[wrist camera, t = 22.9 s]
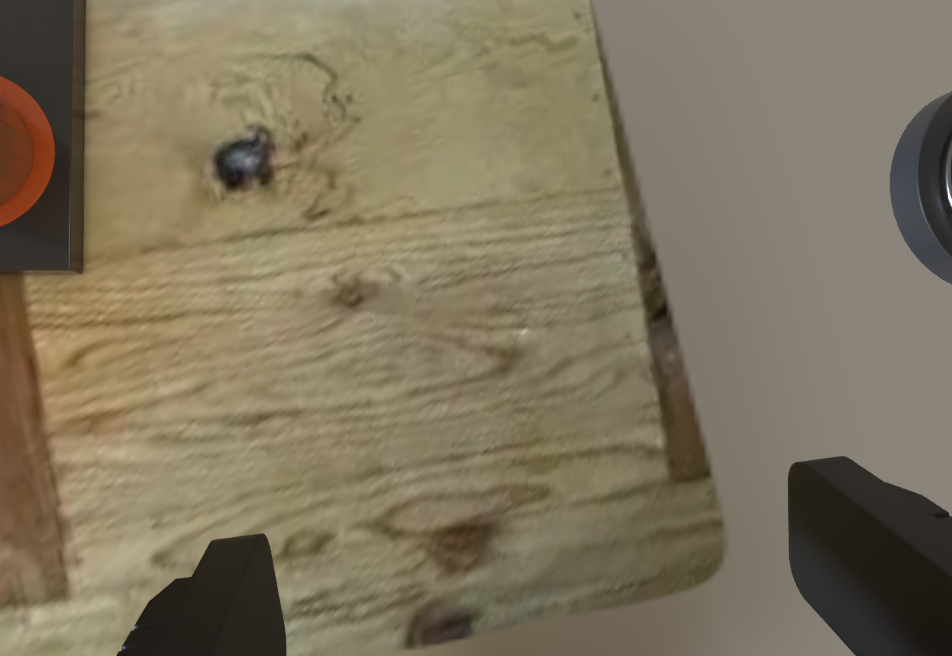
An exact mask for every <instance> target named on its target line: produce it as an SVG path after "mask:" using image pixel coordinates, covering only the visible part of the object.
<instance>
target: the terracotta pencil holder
mask: <svg viewBox="0 0 952 656" xmlns="http://www.w3.org/2000/svg"><path fill="white" fill-rule="evenodd" d="M32 163H33V143H32V138H31V135H30V132H29V129H28V127H27V125H26V123H25V122H24V120H23V119H22V117H21V116H20V115H19V114H18V112H17V111H16V110H15V109H14V108H12V107H11V106H10V105H9V104H8V103H6V102H5V101H4V100H3V99H2V98H1V97H0V206H1V205H3V204H4V203H6V202H7V201H9V200H10V199H11V198H12V197H14V196H15V195H16V194H17V193H18V192H19V190H20V189H21V188H22V186H23V185H24V183H25V182H26V180H27V178H28V176H29V173H30V171H31V167H32Z"/></svg>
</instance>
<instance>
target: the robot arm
mask: <svg viewBox="0 0 952 656" xmlns="http://www.w3.org/2000/svg"><path fill="white" fill-rule="evenodd" d="M939 180H940V190H941V195H942V199H943V203H944V206H945V209H946V211H947V214H948V216H949V218H950V220H951V222H952V130H951V132H950V134H949V136H948V138H947V140H946V143H945V145H944V148H943V152H942V155H941V161H940V170H939ZM788 521H789V560H790V566H791V571H792V574H793V577H794V580H795V583H796V585H797V587H798V589H799V591H800V593H801V594H802V596H803V597H804V599H805V600H806V601H807V602H808V603H809V604H810V605H811V606H812V608H813V609H814V610H815V611H816V612H817V613H818V614H819V615H820V617H821V618H822V619H823V620H824V621H825V622H826V623H827V624H828V625H829V626H830V627H831V628H832V630H833V631H834V632H835V633H836V634H837V635H838V636H839V638H840V639H841V640H842V641H843V642H844V643H845V644H846V645H847V646H848V648H849V649H850V650H851V651H852V652H853V653H854V654H855V655H856V656H952V517H950V516H949V513H948V512H947V511H945V510H944V509H942V508H941V507H939V506H938V505H936V504H935V503H933V502H932V501H930V500H929V499H927V498H925V497H924V496H922V495H920V494H917V493H914V492H912V491H909V490H906V489H903V488H901V487H898V486H895V485H892V484H889V483H886V482H883V481H882V480H880V479H879V478H877V477H876V476H875V475H873V474H872V473H870V472H869V471H867V470H866V469H864V468H863V467H861V466H860V465H858V464H857V463H855V462H854V461H852V460H851V459H849V458H847V457H844V456H839V457H832V458H825V459H818V460H810V461H803V462H796V463H794V464H793V465H792V466H791V468H790V471H789V475H788ZM134 627H135V629H134V630H133V631H131V632H130V634H129V636H128V637H127V639H126V641H125V642H124V644H123V646H122V651H119V652H118V654H117V656H286V634H285V626H284V620H283V615H282V609H281V604H280V598H279V593H278V587H277V582H276V577H275V571H274V566H273V560H272V555H271V550H270V545H269V542H268V539H267V537H266V535H265V534H263V533H261V534H254V535H247V536H239V537H232V538H224V539H217V540H212V541H211V542H210V544H209V545H208V547H207V549H206V551H205V553H204V555H203V557H202V559H201V560H200V562H199V564H198V566H197V568H196V570H195V572H194V574H193V575H192V577H187V578H180V579H175V580H174V581H173V582H172V583H171V584H169V585H168V586H167V587H166V588H165V589H163V590H162V591H161V592H160V593H159V594H157V595H156V596H155V597H154V598H153V599H151V600H150V601H149V602H148V604H147V606H146V607H145V609H144V611H143V612H142V614H141V616H140V617H139V619H138V621H137V622H136V624H135V626H134Z"/></svg>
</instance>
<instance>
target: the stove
mask: <svg viewBox="0 0 952 656" xmlns="http://www.w3.org/2000/svg"><path fill="white" fill-rule="evenodd" d="M84 50H85V0H0V97H1V98H2V99H3V100H4V101H5V102H6V103H8V104H9V105H10V106H11V107H12V108H14V109H15V110H16V111H17V112H18V114H19V115H20V116H21V117H22V119H23V120H24V122H25V123H26V125H27V127H28V129H29V132H30V135H31V138H32V143H33V163H32V167H31V171H30V173H29V176H28V178H27V180H26V182H25V183H24V185H23V186H22V188H21V189H20V190H19V192H18V193H17V194H16V195H15V196H14V197H12V198H11V199H10V200H9V201H7V202H6V203H4V204H3V205H1V206H0V274H82V252H83V151H84Z"/></svg>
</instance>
